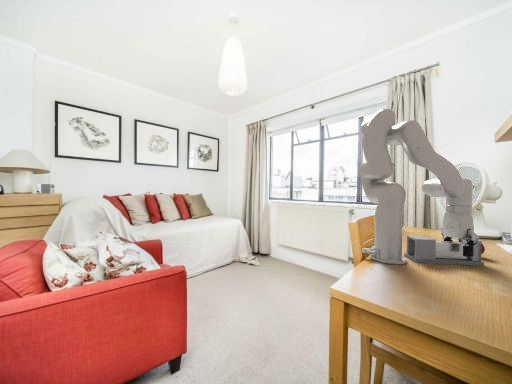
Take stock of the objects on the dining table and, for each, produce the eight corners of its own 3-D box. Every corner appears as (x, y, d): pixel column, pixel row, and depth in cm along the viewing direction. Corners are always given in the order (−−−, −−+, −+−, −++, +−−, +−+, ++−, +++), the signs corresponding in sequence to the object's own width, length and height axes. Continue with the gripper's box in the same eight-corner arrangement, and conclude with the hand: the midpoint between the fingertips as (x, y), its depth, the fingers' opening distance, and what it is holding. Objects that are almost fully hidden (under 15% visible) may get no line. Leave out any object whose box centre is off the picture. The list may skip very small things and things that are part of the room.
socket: (472, 261, 82) (472, 241, 82) (458, 255, 88) (458, 237, 88) (481, 261, 82) (482, 241, 81) (466, 256, 88) (467, 237, 88)
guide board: (415, 262, 84) (416, 239, 84) (404, 255, 92) (404, 235, 91) (484, 265, 81) (484, 241, 81) (466, 258, 89) (466, 237, 89)
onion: (488, 258, 89) (489, 239, 89) (474, 258, 89) (475, 239, 89) (474, 254, 95) (475, 236, 95) (461, 254, 95) (462, 236, 95)
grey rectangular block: (430, 257, 85) (430, 242, 85) (424, 254, 89) (424, 240, 89) (473, 259, 83) (474, 244, 83) (465, 256, 87) (466, 241, 87)
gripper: (432, 207, 94) (432, 246, 95) (466, 212, 77) (465, 259, 77) (451, 208, 93) (450, 247, 94) (489, 212, 76) (488, 260, 76)
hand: (457, 252), depth 85 cm, fingers open, 9 cm apart
